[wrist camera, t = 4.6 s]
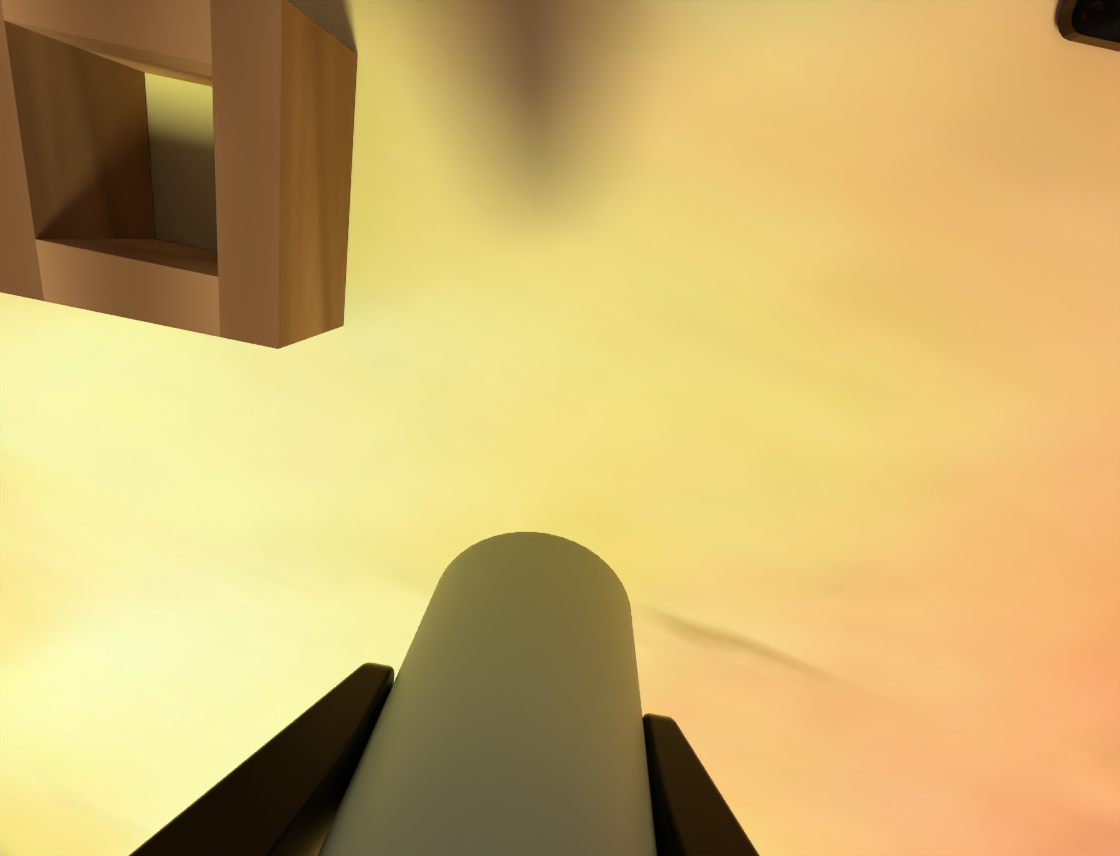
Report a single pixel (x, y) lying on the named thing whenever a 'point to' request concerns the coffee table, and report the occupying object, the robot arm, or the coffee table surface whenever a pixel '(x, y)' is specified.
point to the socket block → (124, 166)
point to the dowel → (509, 717)
